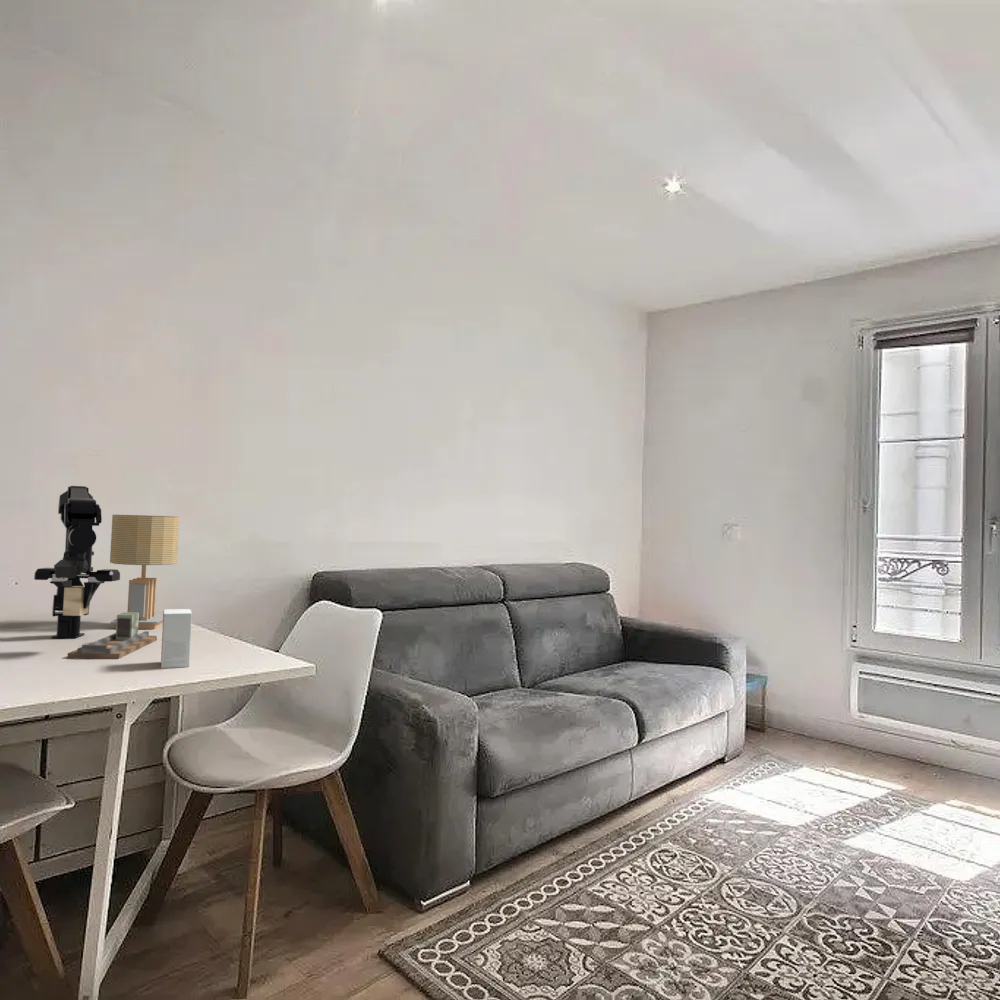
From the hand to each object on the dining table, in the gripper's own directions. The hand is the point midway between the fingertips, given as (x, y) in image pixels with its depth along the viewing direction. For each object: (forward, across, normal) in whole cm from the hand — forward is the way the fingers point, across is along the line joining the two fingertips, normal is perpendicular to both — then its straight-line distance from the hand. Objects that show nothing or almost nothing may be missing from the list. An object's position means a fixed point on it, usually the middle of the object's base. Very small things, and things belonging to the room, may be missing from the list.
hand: (76, 608), depth 187 cm
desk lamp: (+11, 0, +46) cm, 47 cm away
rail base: (+11, +8, +6) cm, 15 cm away
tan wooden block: (+2, 0, 0) cm, 2 cm away
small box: (+12, +29, -14) cm, 34 cm away
